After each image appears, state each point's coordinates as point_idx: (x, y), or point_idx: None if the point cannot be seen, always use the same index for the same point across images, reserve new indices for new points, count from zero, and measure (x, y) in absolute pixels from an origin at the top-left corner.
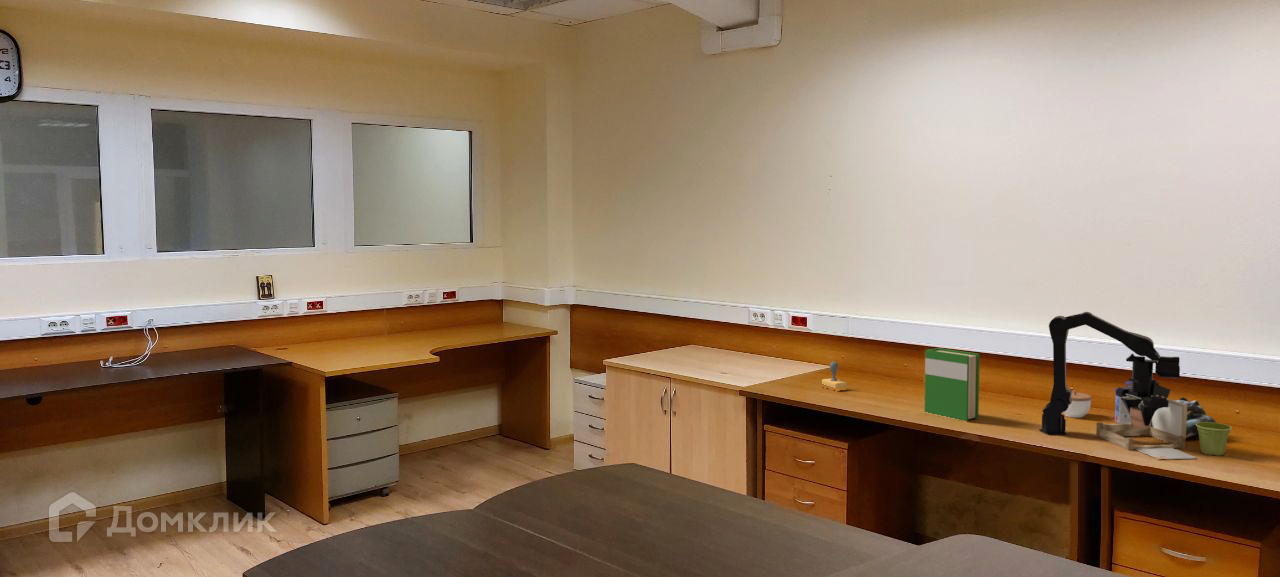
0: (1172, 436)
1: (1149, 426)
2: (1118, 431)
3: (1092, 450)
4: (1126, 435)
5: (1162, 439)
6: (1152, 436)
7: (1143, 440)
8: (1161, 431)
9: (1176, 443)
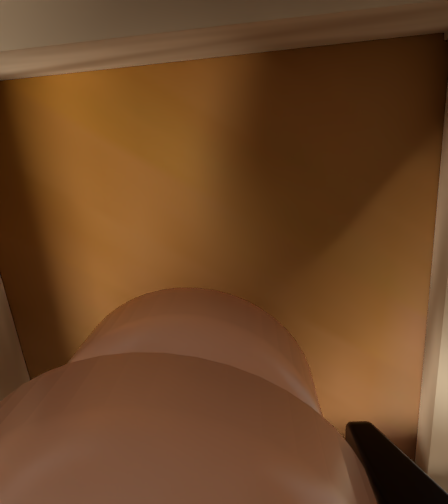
0: (370, 10)
1: (295, 353)
2: (1, 400)
3: None
4: (6, 309)
5: (171, 58)
6: (7, 77)
7: (151, 240)
8: (116, 35)
9: (432, 25)
